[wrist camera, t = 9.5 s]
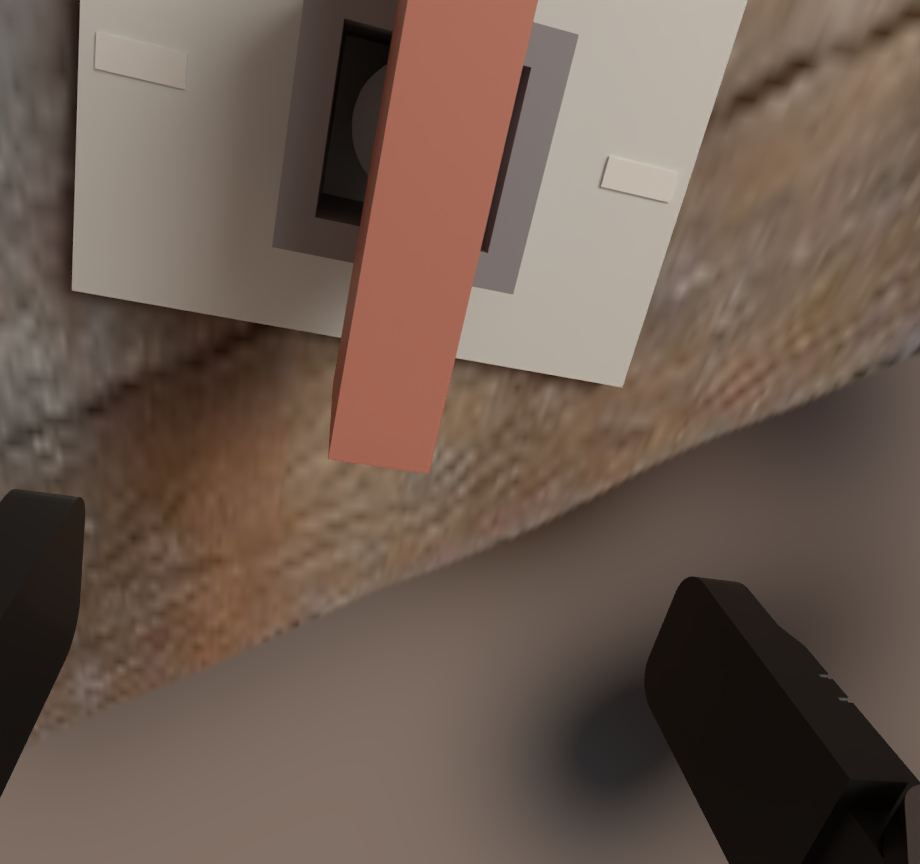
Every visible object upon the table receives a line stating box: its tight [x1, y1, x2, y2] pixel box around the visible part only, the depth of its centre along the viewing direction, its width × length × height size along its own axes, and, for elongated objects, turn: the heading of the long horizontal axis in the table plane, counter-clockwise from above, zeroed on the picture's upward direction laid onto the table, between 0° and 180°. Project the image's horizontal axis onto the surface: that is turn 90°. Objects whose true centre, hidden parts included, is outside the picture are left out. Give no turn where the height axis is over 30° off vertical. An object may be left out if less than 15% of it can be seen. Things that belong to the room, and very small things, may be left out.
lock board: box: [72, 0, 748, 387], centre depth 23 cm, size 20×15×6 cm
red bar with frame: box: [272, 0, 579, 474], centre depth 20 cm, size 14×7×10 cm, turn 167°
